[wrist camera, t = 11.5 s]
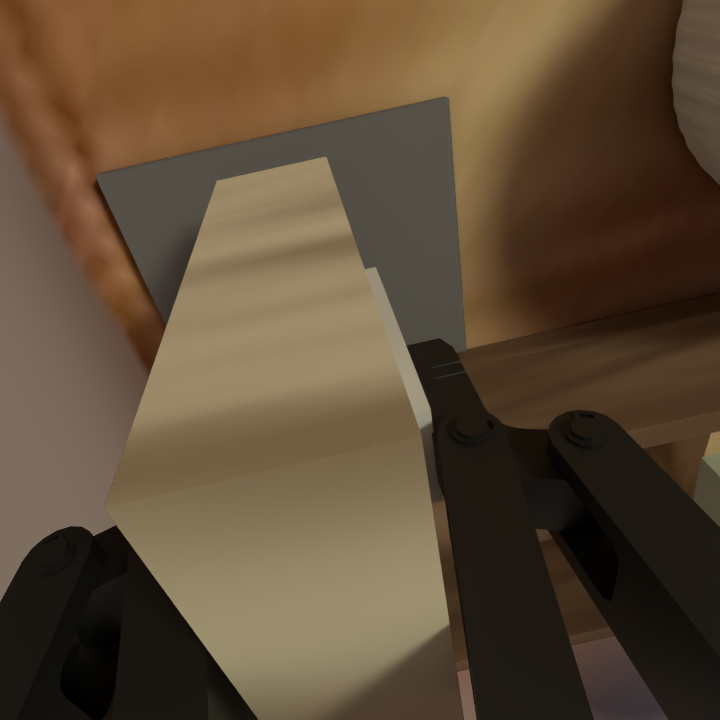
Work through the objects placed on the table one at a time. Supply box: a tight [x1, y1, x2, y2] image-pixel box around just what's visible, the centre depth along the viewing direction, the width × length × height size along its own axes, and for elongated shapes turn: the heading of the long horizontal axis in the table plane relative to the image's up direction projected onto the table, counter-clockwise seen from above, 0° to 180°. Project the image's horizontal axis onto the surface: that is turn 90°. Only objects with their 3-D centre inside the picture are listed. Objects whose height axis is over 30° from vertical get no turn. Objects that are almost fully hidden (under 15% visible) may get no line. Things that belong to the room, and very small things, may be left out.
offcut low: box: [643, 431, 720, 500], centre depth 23 cm, size 9×4×4 cm, turn 10°
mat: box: [95, 97, 466, 353], centre depth 18 cm, size 10×11×1 cm
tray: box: [432, 293, 720, 672], centre depth 23 cm, size 14×22×6 cm, turn 100°
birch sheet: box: [104, 157, 464, 720], centre depth 12 cm, size 9×3×11 cm, turn 10°
